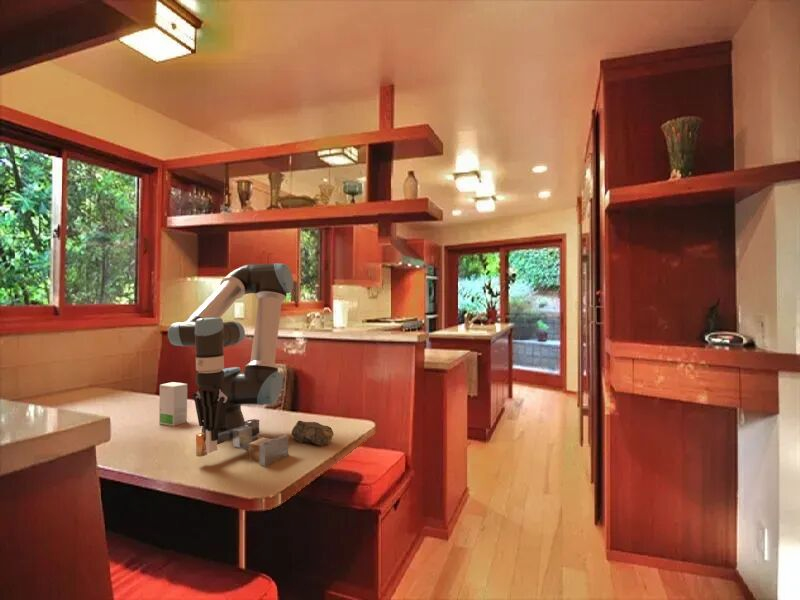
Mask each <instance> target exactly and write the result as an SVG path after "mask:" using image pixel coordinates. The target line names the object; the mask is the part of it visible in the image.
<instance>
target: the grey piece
mask: <svg viewBox="0 0 800 600" xmlns="http://www.w3.org/2000/svg"><path fill="white" fill-rule="evenodd" d="M261 438H265V437H263V436H259V433H258V434H256V435H252V442H253V441H256V440H258V439H261ZM267 438H268V437H267ZM268 439H270V438H268ZM234 448H237V449H241V450H247V451H249V444H247V445H245V446H242V447H236V446H234ZM287 456H289V435H285V434H281V435H279V436H278V437H274V438H272V440H270V441H268V442H265V443H263V444H261V445H260V462H259V466H262V467H267V466H269V465H271V464H273V463H275V462H276V461H279V460H281V459H283V458H285V457H287Z"/></svg>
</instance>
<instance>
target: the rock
mask: <svg viewBox="0 0 800 600" xmlns="http://www.w3.org/2000/svg"><path fill="white" fill-rule="evenodd" d="M334 436H335V435H334V431H333V429H332V427H330V426H328V425H324V424H321V423H320V422H316V421H303V420H298V421H297V422H296V424H295V425H294V427H293V428H292V431H291V437H292V438H293V439H295V440H296V441H298V442H299V443H303V444H304V443H306V444H307V443H308V444H309V443H313V444H314V445H316V446H320V447H323V445H324V446H325V445H329V444H331V440H332V439H333V438H334Z"/></svg>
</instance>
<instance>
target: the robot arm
mask: <svg viewBox="0 0 800 600" xmlns="http://www.w3.org/2000/svg"><path fill="white" fill-rule="evenodd" d="M293 290H294V277H293V274H292V271H291V269H290V267H289V266H288V265H287V264H285V263H278V262H275V263H248V264H245V265H242V266H240V267H238V268H236V269H234V270H233V271H230V273H227V275H226V276H224V278H222V280H221V282H220V286H218V288H217V289H216V290H214V291H213V292H212V294H210V296H208V298H206V299H205V301H204V302H203V303H202V304H201V305H199V307H198V308H197V309H195V311H193V313H192V314H191V315H190V316H189V317H188V318H187V319H186V320H185V321H178V322H174V323H171V325H170V326H169V328H168V330H167V339H168V341H169V343H170V344H171V345H173V346H177V347H179V346H180V347H195V370H196V371H197V372H196V374H195V384H196V386H198V389H197V391H196V392H194V393H192V395H191V396H192V398H193V401H194V404H195V409H196V410H195V411H196V416H197V421H198V425H199V427H201V433H205V440H206V452H207V454H211V453H213V452H215V451H216V452H217V450H218V445H217V440H218V433H221V432H224V431H227V430H230V429H233V428H237V427H240V426H243V425H245V421H246V420H245V417H244V415H243V412H242V407H241V405H255V406H256V405H259V406H264V405H272V404H275V402H276V401H277V400H278V399H279V397H280V395H281V392H282V389H283V385H284V384H283V383H284V381H283V375H282V373H281V372H279V367H278V366H277V365H276V363H275V362H276V355H277V353H276V352H277V347H278V345H277V344H278V337H279V336H278V335H279V327H280V320H281V319H280V318H281V317H280V316H281V310H282V303H283V302H285V301H286V299H287V295H288V294H291V293H292V292H293ZM249 294H254V296H255V297H256V299H257V300H258V302H257V311H256V317H255V324H254V330H253V331H254V332H253V340H252V347H251V356H250V361H249V362H248V363H247V364H245V366H244V367H245V368H244V371H242V370H241V368H240V367H239V366H238V367H237V366H233V367H225V357H224V348H225V347H230V346H236V345H237V344H239V343H241V342H242V341H243V340H244V338H245V335H246V331H245V327H244V325H242V324H241V323H240V322H238V321H234V320H233V321H232V320H231V321H223V319H222V318H221V317H222V316H223V315H224V314H225V313H226V312H227V311H228V310H229V309H230V307H231V306H232V305H233V304H234V303H235V301H237V300H239V299H241V298H243V297H244V296H245V295H249Z"/></svg>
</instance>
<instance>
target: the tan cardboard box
mask: <svg viewBox="0 0 800 600" xmlns="http://www.w3.org/2000/svg"><path fill="white" fill-rule="evenodd" d="M272 439H273V438H272ZM272 439H271V438H269V439H268V437H264V438H261V439H258V440H256V441H253V442H251V443H249V450H248V460H250V461H255V462H258V463H260V445H261V444H263V443H265V442H268V441H270V440H272Z"/></svg>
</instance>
